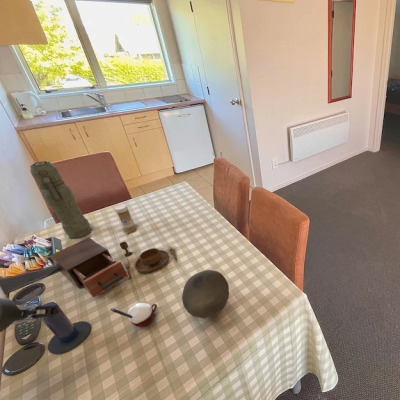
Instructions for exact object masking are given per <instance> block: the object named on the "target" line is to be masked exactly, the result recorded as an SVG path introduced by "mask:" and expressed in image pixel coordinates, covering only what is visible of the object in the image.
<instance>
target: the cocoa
mask: <svg viewBox="0 0 400 400" xmlns="http://www.w3.org/2000/svg"><path fill="white" fill-rule="evenodd" d="M157 308H158V305H157V304H156V303H153V304H151V305H150V304H149V303H147V302H138V303H136V304H134V305H133V306H132V307H131V308H129V309H128V311H127V312H124V311H122V310H118V309H116V308H113V307H111V308H110V311H112V313H116V314H118V315H121V316H124V317H127V319H128V321H129V322H130V323H131V324H132V325H133V326H135V327H137V328H145V327H147V326H148V325H150V324H151V323H152V321H153V320H154V318H155V313H156V310H157Z"/></svg>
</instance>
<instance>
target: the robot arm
mask: <svg viewBox="0 0 400 400" xmlns="http://www.w3.org/2000/svg"><path fill="white" fill-rule="evenodd" d="M58 306H59V305H58ZM58 306H56V305H55V306H42V305H22V304H20V305H17V304H16V302H15V301H13V300H12V299H10V298H8V297H0V333H2V332H4V331H5V330H6V329H8V328H9V327H10V326H11V325H18V324H21V323H28V322H29V323H30V322H35V321H37V320H38V319H40V318H48V317H51V318H52V317H56V316H57V315H58V313H59V309H58ZM30 309H31V310H30ZM29 316H30V317H29ZM28 317H29V318H28Z"/></svg>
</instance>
